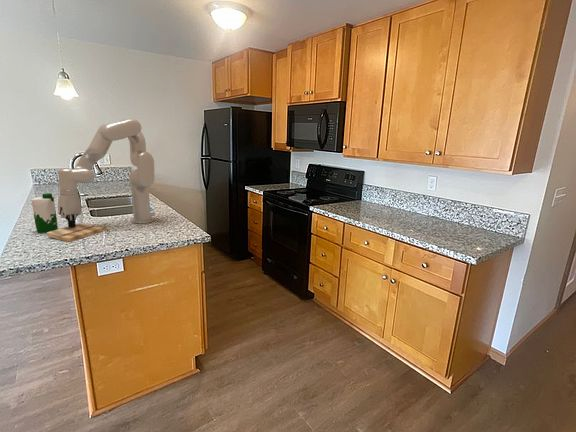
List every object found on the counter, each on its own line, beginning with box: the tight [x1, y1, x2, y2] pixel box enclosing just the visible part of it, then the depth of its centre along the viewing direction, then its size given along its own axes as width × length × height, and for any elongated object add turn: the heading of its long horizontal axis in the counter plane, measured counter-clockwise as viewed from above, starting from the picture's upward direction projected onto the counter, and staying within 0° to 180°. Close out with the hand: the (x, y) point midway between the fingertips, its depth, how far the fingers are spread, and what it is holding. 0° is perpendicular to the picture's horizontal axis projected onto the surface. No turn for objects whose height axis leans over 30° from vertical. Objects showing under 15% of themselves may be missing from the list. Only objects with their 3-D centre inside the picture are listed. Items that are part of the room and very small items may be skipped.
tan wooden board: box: [46, 222, 95, 241], centre depth 166 cm, size 20×9×2 cm, turn 165°
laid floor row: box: [59, 225, 107, 243], centre depth 164 cm, size 22×6×2 cm, turn 165°
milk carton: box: [31, 192, 59, 234], centre depth 167 cm, size 9×9×20 cm
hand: (72, 227), depth 168 cm, fingers closed
